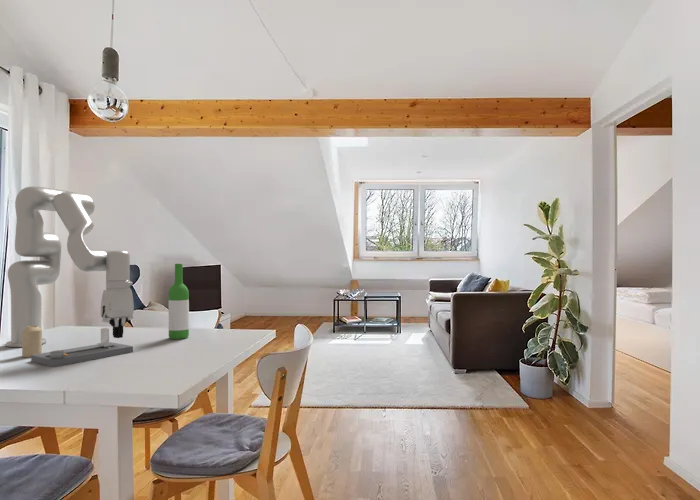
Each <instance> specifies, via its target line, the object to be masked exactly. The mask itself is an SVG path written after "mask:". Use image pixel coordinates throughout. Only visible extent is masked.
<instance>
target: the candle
mask: <svg viewBox="0 0 700 500" xmlns="http://www.w3.org/2000/svg"><path fill="white" fill-rule="evenodd" d="M42 338H43V330H42V327H41V328H39V327H38V326H27V327H26V328H25V329H24V330H23V331H22V347H21V354H22V358H31V355H34V354H41V353H43V344H42Z"/></svg>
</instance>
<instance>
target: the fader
mask: <svg viewBox="0 0 700 500" xmlns="http://www.w3.org/2000/svg"><path fill="white" fill-rule="evenodd" d="M109 342H110V328H108V327H107V328H106V327H105V328H104V327H103V328H100V342H98V343H96V344H97V346H102V347H107V346H112V345H113V343H114V342H113V343H109Z"/></svg>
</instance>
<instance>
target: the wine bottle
mask: <svg viewBox="0 0 700 500" xmlns="http://www.w3.org/2000/svg"><path fill="white" fill-rule="evenodd" d="M183 267H184V266H183V263H175V264H174V283H173V284H172V285H171V286H170V288H169V290H168V338H169V339H170V340H183V339H187V338H189V335H190V331H189V330H190V301H189V300H190V299H189V298H190V297H189V296H190V294H189V293H190V291H189V289H188V287H187V286H186V284H184V280H183V278H184V277H183V276H184V275H183Z"/></svg>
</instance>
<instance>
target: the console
mask: <svg viewBox="0 0 700 500" xmlns="http://www.w3.org/2000/svg"><path fill="white" fill-rule="evenodd" d="M109 343H113V345H112V346H107V347H102V346H97V343H96V344H92V345H85V346H78V347H73V348H67V349H60V350H52V351H48V352H42V353H41V354H34V355H31V357H30V361H31V362H32V363H36V364H40V365H44V366H47V367H51V368H55V367H60V366H64V365H71V364H76V363H81V362H86V361H90V360H91V361H92V360H97V359H103V358H107V357H108V358H109V357H113V356H119V355H124V354H129V353H130V354H131V353H133V352H134V346H133V345H129V344H122V343H118V342H112V341H109Z"/></svg>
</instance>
